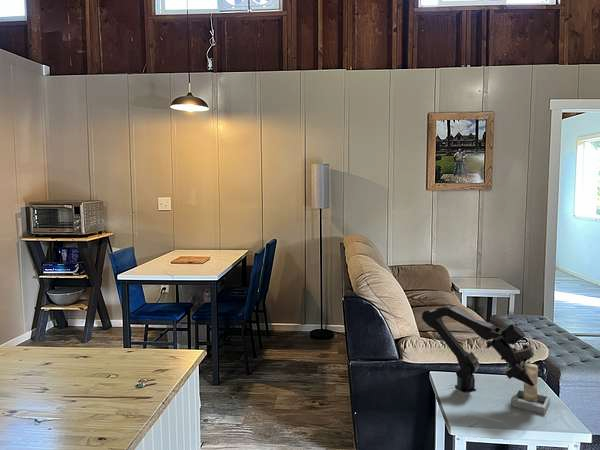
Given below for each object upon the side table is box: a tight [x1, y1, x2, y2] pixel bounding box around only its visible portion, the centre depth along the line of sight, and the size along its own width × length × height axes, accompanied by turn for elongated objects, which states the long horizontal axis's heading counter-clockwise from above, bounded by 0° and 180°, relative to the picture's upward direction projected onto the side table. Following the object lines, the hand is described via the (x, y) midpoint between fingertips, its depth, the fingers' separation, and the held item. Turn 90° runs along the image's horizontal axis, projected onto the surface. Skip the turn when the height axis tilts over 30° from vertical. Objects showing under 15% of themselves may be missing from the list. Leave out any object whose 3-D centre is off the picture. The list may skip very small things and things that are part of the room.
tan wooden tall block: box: [523, 363, 539, 404], centre depth 180 cm, size 5×5×14 cm
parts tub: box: [510, 388, 551, 415], centre depth 181 cm, size 12×12×2 cm
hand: (534, 383), depth 179 cm, fingers closed on tan wooden tall block, 5 cm apart
